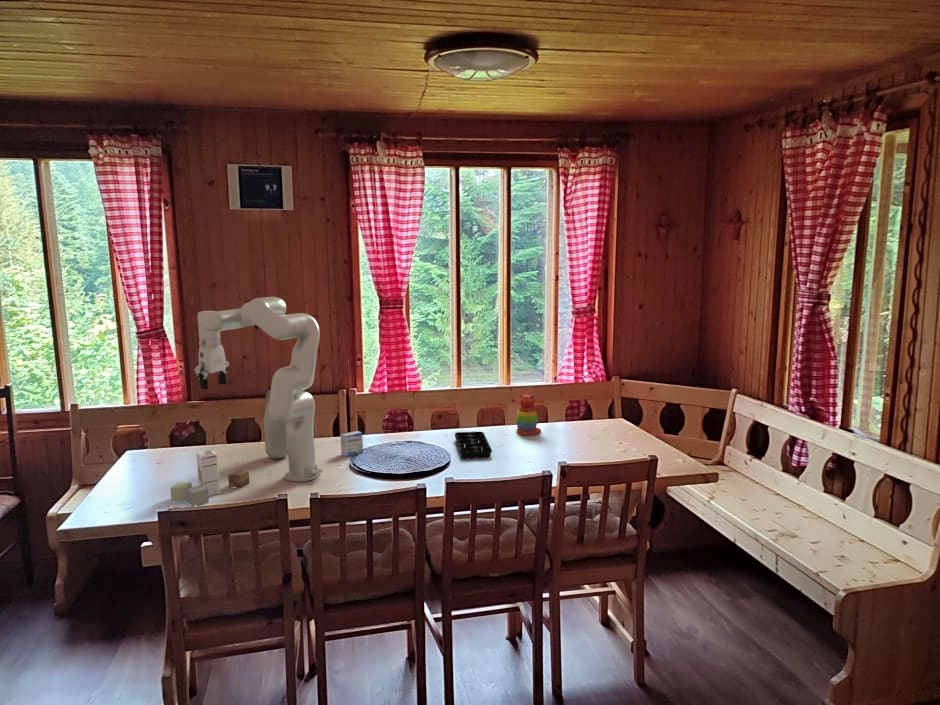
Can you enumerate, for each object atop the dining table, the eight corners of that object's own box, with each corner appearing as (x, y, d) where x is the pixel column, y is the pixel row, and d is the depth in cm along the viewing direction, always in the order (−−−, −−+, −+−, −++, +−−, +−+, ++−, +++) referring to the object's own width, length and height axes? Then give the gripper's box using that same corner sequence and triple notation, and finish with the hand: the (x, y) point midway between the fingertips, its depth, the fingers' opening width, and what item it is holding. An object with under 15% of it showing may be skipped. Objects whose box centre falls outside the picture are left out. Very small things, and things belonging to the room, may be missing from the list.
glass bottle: (267, 463, 262) (263, 393, 258) (264, 455, 271) (259, 388, 267) (293, 459, 266) (289, 390, 262) (289, 452, 275) (285, 385, 271)
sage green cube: (192, 496, 228) (191, 482, 227) (186, 501, 223) (185, 487, 222) (178, 496, 228) (177, 482, 227) (171, 501, 223) (170, 487, 222)
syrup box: (221, 493, 229) (218, 453, 227) (203, 497, 226) (199, 456, 224) (216, 489, 234) (213, 449, 232) (199, 492, 231) (195, 452, 228)
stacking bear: (542, 431, 300) (542, 392, 297) (535, 437, 291) (535, 397, 288) (519, 429, 305) (519, 391, 302) (511, 435, 295) (511, 395, 293)
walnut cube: (249, 484, 239) (248, 470, 238) (241, 489, 234) (240, 475, 233) (237, 483, 240) (236, 469, 239) (228, 487, 235) (227, 474, 235)
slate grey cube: (208, 502, 222) (207, 488, 221) (194, 507, 218) (193, 492, 217) (201, 499, 225) (200, 485, 224) (186, 503, 221) (185, 489, 220)
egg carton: (480, 437, 293) (480, 429, 293) (505, 457, 265) (505, 448, 265) (442, 442, 288) (442, 433, 287) (463, 462, 260) (463, 453, 259)
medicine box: (346, 457, 268) (345, 436, 267) (340, 454, 271) (339, 434, 270) (363, 452, 273) (362, 432, 272) (357, 450, 276) (356, 430, 275)
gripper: (200, 346, 248) (204, 391, 250) (233, 340, 263) (237, 382, 266) (185, 345, 250) (189, 390, 253) (219, 339, 266) (222, 381, 269)
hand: (213, 386), depth 259 cm, fingers open, 9 cm apart
